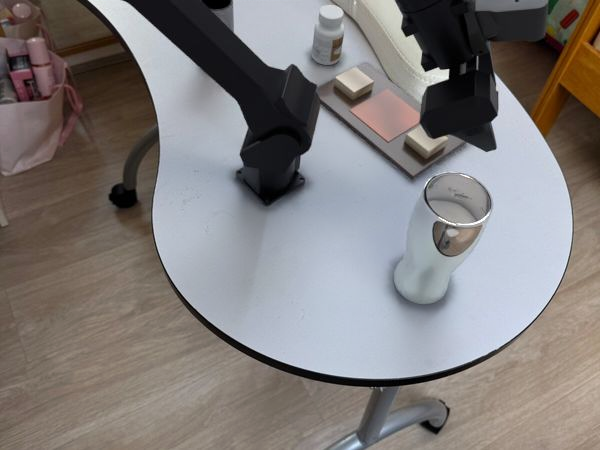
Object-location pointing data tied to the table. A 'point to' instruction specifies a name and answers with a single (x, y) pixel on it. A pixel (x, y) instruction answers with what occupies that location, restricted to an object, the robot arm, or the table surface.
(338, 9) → the pill bottle
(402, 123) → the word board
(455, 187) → the silver metal cup
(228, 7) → the light grey cylinder
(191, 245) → the table surface
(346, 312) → the table surface
